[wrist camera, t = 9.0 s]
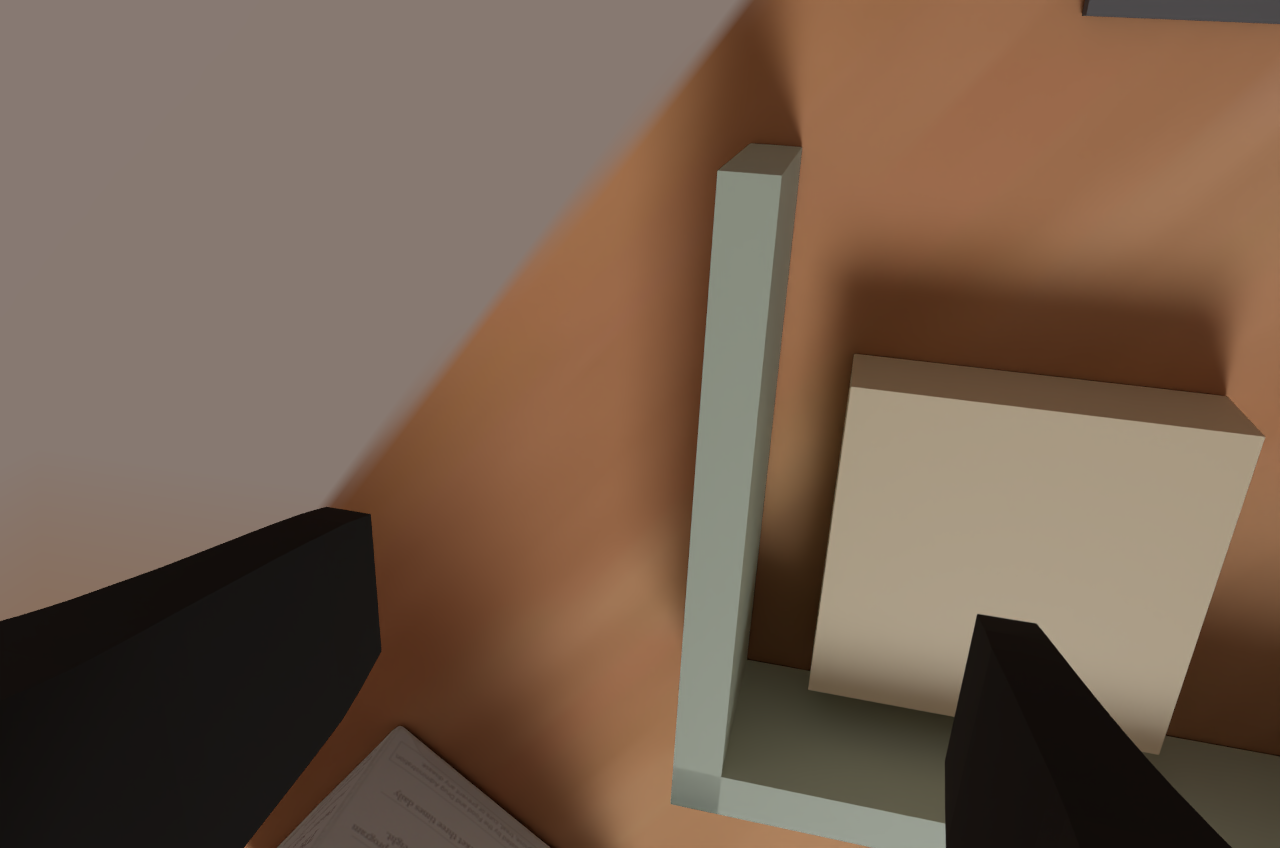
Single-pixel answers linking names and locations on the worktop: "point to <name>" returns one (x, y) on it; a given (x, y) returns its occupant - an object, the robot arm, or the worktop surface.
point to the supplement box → (408, 806)
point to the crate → (942, 561)
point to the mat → (1188, 10)
